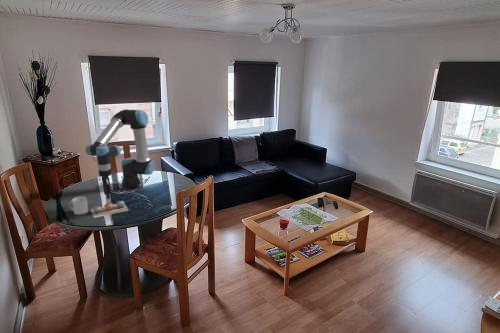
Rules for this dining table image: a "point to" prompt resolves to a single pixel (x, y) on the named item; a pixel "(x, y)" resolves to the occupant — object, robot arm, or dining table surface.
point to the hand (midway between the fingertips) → (108, 202)
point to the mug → (79, 205)
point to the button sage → (97, 209)
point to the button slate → (120, 204)
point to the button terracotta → (109, 206)
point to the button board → (106, 212)
